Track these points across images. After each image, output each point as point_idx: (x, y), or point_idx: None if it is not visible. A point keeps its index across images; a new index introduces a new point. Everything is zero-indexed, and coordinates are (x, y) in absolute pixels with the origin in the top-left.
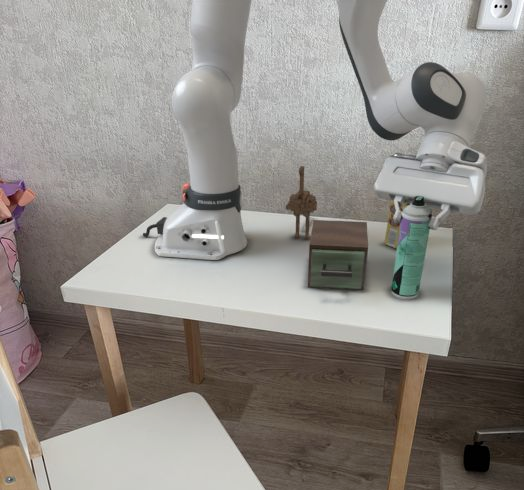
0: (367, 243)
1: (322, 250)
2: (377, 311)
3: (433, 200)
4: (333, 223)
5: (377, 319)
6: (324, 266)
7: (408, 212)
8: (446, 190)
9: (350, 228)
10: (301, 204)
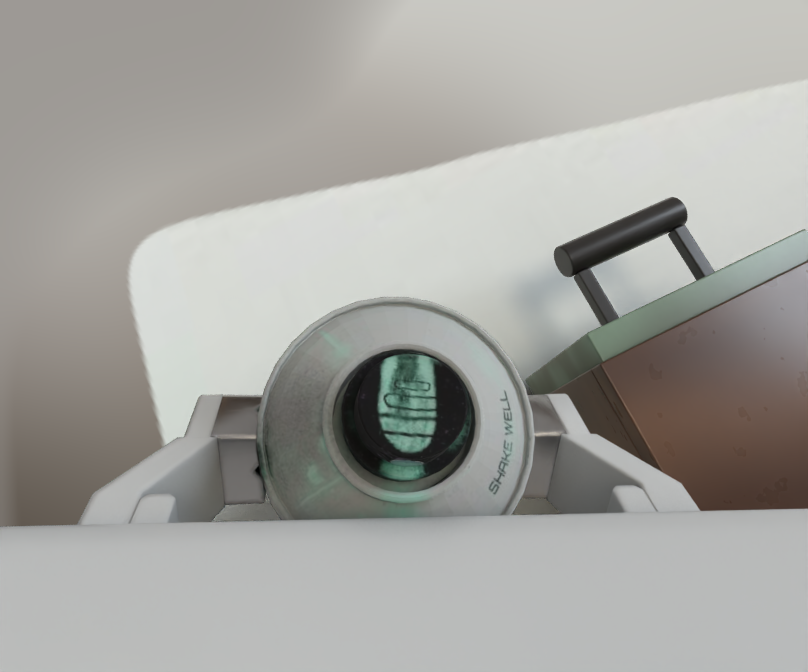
0: (629, 410)
1: (774, 263)
2: (399, 285)
3: (266, 521)
4: None
5: (375, 235)
6: (699, 258)
7: (444, 320)
8: (97, 651)
9: None
10: None
